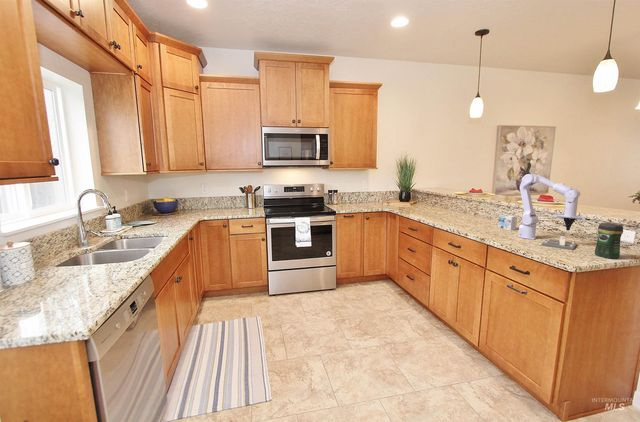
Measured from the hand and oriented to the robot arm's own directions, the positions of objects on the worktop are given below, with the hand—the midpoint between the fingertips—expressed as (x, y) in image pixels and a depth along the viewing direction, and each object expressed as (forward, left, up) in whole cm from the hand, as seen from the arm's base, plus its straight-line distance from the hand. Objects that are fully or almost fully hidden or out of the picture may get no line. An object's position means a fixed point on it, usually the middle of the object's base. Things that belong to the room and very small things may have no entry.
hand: (568, 230), depth 184 cm
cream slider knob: (-2, 0, -8) cm, 8 cm away
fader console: (-3, -4, -9) cm, 11 cm away
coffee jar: (+19, -16, -10) cm, 27 cm away
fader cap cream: (-1, -8, -8) cm, 12 cm away
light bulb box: (-40, +28, -10) cm, 50 cm away
